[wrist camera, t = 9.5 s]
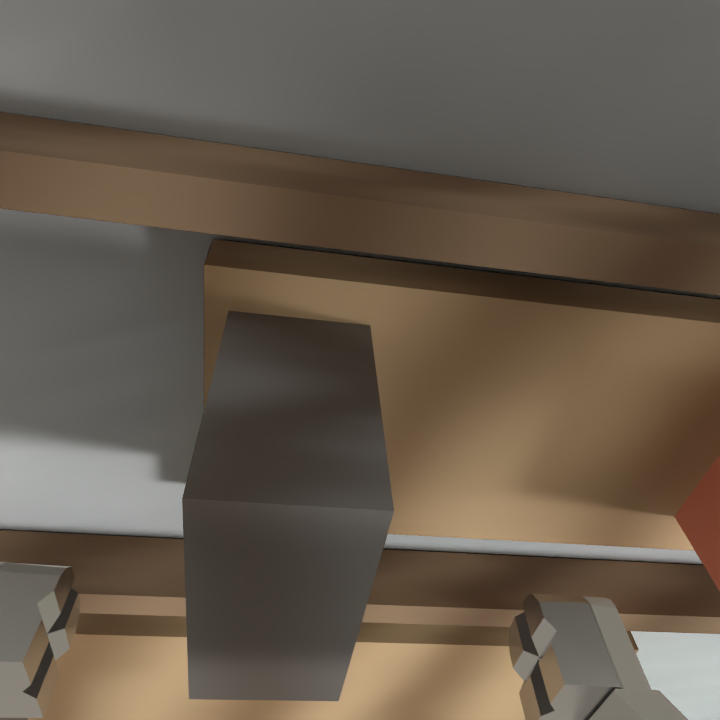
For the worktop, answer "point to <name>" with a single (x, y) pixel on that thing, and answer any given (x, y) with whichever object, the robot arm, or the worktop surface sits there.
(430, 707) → the strip
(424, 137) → the worktop surface
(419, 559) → the lane rails
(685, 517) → the cube
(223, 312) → the strip
